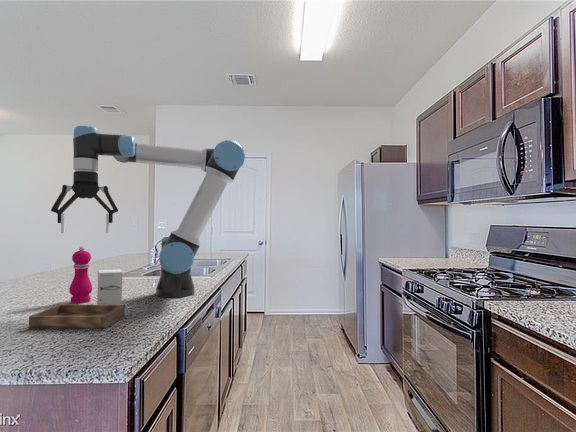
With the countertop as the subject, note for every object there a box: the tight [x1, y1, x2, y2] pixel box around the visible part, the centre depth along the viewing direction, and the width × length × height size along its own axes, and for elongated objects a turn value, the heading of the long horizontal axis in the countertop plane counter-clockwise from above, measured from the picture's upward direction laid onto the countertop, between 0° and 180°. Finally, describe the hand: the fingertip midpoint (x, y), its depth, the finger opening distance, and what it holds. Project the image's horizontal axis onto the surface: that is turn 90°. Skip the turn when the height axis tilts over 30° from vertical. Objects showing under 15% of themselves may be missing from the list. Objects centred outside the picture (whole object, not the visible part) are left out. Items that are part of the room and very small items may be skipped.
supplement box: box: [96, 269, 123, 305], centre depth 122 cm, size 7×7×13 cm
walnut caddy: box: [28, 303, 126, 331], centre depth 105 cm, size 20×14×4 cm
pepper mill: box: [68, 245, 93, 304], centre depth 131 cm, size 7×7×20 cm
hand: (85, 232), depth 126 cm, fingers open, 13 cm apart
